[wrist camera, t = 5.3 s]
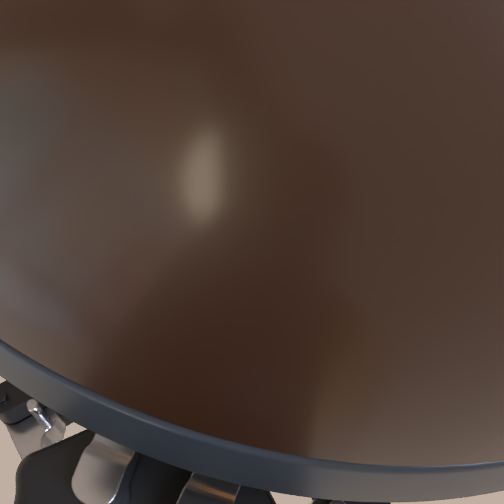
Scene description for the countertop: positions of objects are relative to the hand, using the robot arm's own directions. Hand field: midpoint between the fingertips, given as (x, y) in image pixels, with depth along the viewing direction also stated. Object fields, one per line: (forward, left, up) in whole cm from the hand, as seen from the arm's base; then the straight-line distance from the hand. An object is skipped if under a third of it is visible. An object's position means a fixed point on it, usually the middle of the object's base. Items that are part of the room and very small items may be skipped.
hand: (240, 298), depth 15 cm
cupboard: (+17, +9, -14) cm, 24 cm away
